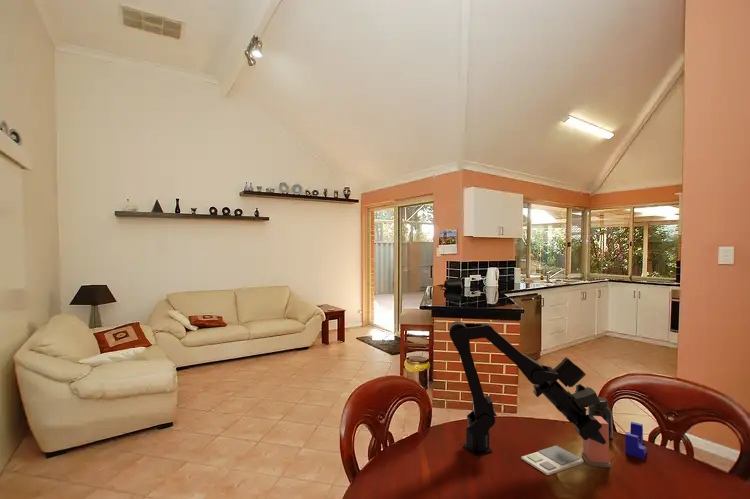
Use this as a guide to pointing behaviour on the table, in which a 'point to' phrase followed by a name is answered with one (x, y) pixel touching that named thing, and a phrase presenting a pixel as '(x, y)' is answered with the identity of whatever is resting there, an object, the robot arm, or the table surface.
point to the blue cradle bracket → (635, 441)
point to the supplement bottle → (602, 413)
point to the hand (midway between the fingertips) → (600, 438)
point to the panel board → (552, 460)
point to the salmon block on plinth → (598, 447)
